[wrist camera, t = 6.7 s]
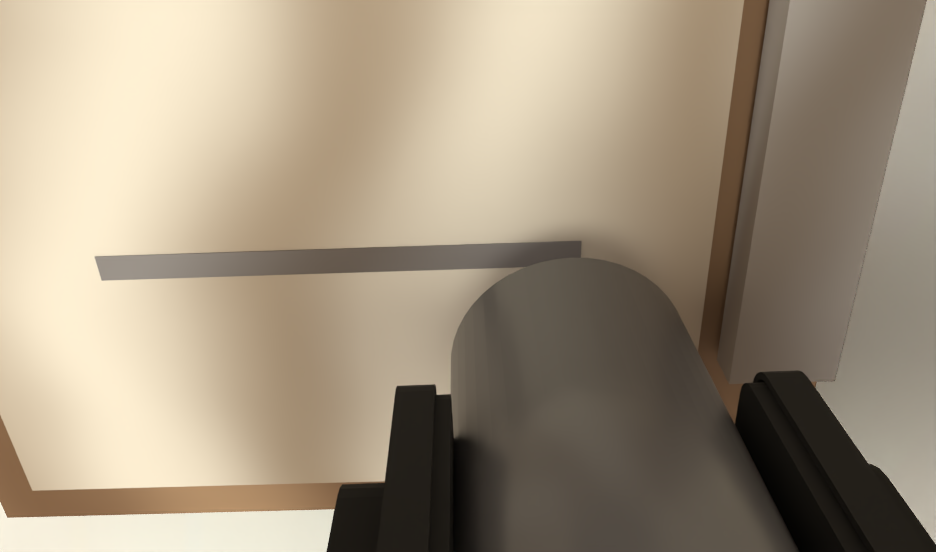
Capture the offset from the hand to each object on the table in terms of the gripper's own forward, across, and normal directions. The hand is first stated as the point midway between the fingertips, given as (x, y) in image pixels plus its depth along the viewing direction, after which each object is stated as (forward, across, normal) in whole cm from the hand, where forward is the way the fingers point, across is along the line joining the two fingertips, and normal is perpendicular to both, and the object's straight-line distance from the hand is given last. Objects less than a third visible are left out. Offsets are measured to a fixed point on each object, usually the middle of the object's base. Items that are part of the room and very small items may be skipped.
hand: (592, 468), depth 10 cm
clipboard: (+6, +4, -2) cm, 7 cm away
